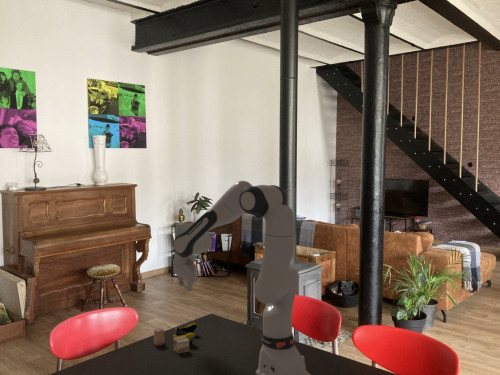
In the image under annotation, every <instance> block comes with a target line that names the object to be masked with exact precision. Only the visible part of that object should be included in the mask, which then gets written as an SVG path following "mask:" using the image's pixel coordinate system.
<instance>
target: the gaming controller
mask: <svg viewBox="0 0 500 375" xmlns="http://www.w3.org/2000/svg"><path fill="white" fill-rule="evenodd" d="M174 329H175V333H174V334H173V335H172V337H173V340H172V341H173V343H174V338H178V337H183V336H185V337H186V338H187V339H189V343H190V342H192V341H193V340H194V339H195V338H196V334H195V333H194V332H195V331H196V330H197V329H198V324H197V323H195V322H193V323H190V324H187V326H184V327H182V328H181V327H176V328H174Z"/></svg>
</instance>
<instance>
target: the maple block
mask: <svg viewBox="0 0 500 375" xmlns="http://www.w3.org/2000/svg"><path fill="white" fill-rule="evenodd" d="M173 338H174V337H173ZM173 350H174V351H175V352H176V354H178V355H180V354H184V353H187V352H190V342H189V339H187V338H186V337H185V336H183V337H178V338H174V342H173Z"/></svg>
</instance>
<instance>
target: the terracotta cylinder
mask: <svg viewBox="0 0 500 375" xmlns="http://www.w3.org/2000/svg"><path fill="white" fill-rule="evenodd" d="M164 344H165V329H164V328H159V327H158V328H154V329H153V345H154V346H158V347H159V346H163V345H164Z"/></svg>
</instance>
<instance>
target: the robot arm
mask: <svg viewBox="0 0 500 375" xmlns="http://www.w3.org/2000/svg"><path fill="white" fill-rule="evenodd" d="M286 203H287V195H286V191H285V190H284V189H283V188H282V187H281V186H278V185H276V184H275V185H273V184H271V185H268V184H258V185H253V184H251V183H250V182H249V181H246V180H239V181H238V182H236V183H235V184H232V186H231V187H229V188H228V189H227V190H226V191H225V192H224V194H222V196H221V197H220V198H219V199H218V200H217V201H216V202H215V203H214V204H213V205H212V206H211V207H210V208H209V209H208V210H207V211H206V212H204V213H203V214H202V215H201V216H200V217H199V218H197V220H195V222H193V221H191V220H190V221H183V222H178V223H177V224H176V225H175V230H174V240H173V246H172V247H173V250H174V252H173V254H172V253H171V258H172V265H173V266H172V267H173V272H174V275H175V276H177V279H178V285H179V286H180V287H183V286H185V282H184V281H186V284H187V285H186V287H185V288H186V291H187V292H192V286H193V284H194V283H197V282H198V270H197V266H196V264H194V263H195V261H196V255H198V254H202V253H205V252H208V251H210V250H211V248H212V246H213V237H212V235H211V233H210V231H211V230H213V229H215V228H218V227H221V226H224V225H228V224H232V223H233V222H235V221H236V220H237V219H240V217H241V216H242V215H244V213H246V214H249V215H251V216H254V217H256V218H258V219H260V218H261V219H262V218H263V219H264V222H265V228H264V229H265V233H264V249H263V250H264V251H263V257H262V261H261V265H260V269H259V273H258V277H257V279H256V282H255V283H254V286H253V293H254V295H255V297H256V299H257V300H258V301H259V302H260V303H262V304H265V308H264V309H263V313H262V332H261V343H262V346H261V348H260V351H259V356H258V367H257V369H256V370H255V374H256V375H311V373H310V372H309V371H308V370H306V368H307V367H306V362H305V360H306V359H305V356H304V355H301V353H300V352H299V350H298V349H297V346H296V345H295V343H297V342H296V339H295V337H294V334H293V328H292V327H293V325H292V324H293V310H294V309H293V307H294V303H295V297H296V290H297V286H298V284H299V281H300V280H299V277H300V276H299V273H298V271H297V270H296V269H295V268H294V267H292V266H291V265H290V264H291V262H292V259H293V257H294V247H295V244H294V243H295V216H294V212H293V209H292V208H291V207H290V206H288V205H286Z"/></svg>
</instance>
